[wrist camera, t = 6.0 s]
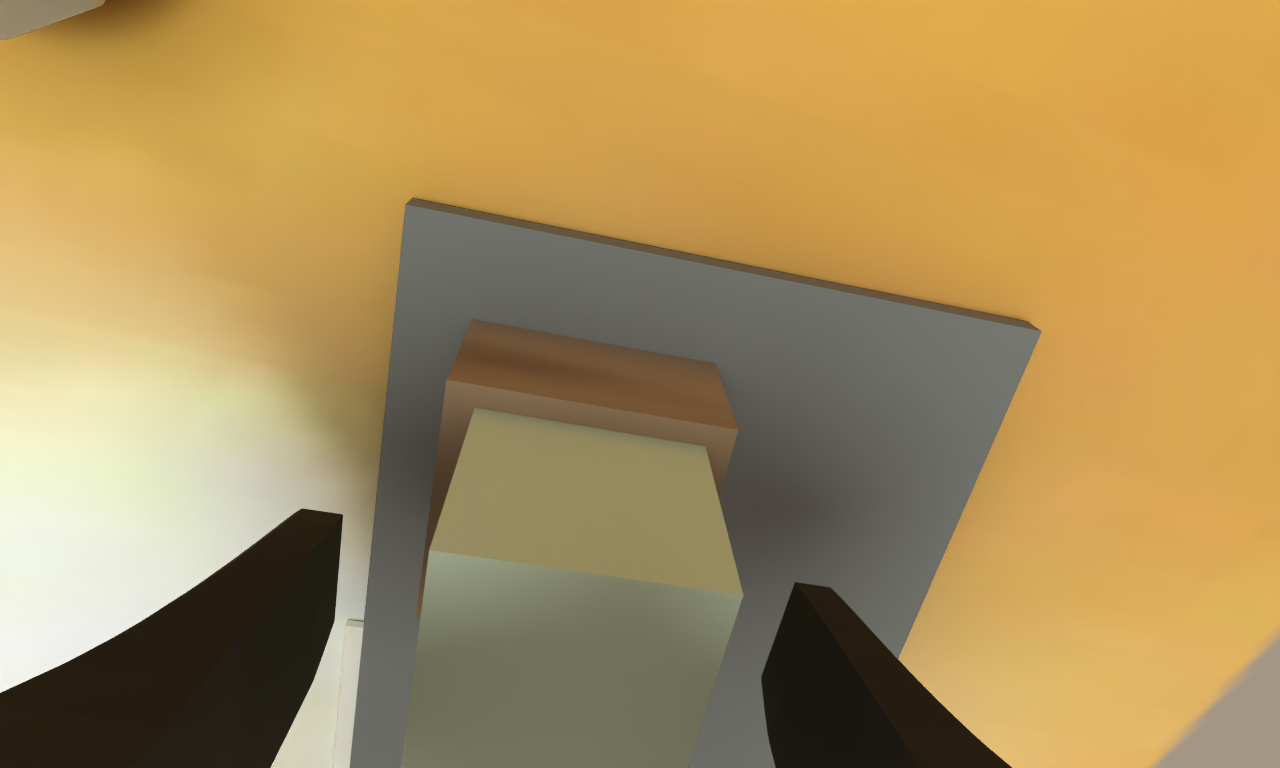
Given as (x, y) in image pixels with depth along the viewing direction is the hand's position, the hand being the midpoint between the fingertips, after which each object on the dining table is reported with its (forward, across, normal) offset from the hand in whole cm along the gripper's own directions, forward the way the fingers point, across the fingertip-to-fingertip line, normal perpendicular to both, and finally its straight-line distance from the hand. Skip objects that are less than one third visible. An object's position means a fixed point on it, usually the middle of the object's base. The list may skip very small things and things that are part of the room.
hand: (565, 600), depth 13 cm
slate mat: (+6, -2, +3) cm, 7 cm away
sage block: (+2, 0, 0) cm, 2 cm away
